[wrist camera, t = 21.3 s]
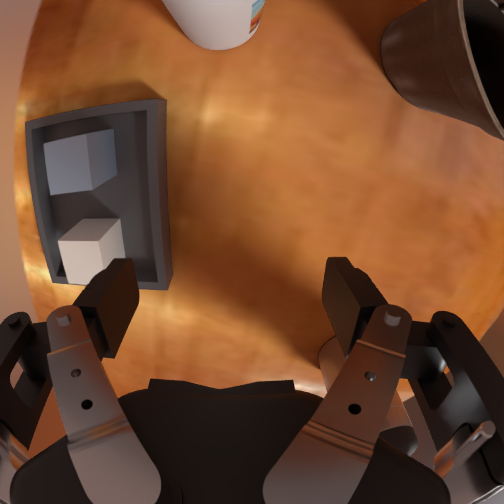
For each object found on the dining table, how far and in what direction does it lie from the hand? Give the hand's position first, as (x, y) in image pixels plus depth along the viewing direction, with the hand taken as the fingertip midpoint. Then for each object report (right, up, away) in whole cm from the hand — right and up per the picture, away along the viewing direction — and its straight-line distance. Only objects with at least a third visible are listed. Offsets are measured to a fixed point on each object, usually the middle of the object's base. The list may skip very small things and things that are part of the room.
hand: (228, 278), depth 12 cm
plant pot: (+21, +23, +12) cm, 33 cm away
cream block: (-16, +3, +19) cm, 25 cm away
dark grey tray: (-16, +7, +17) cm, 25 cm away
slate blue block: (-16, +11, +14) cm, 24 cm away
